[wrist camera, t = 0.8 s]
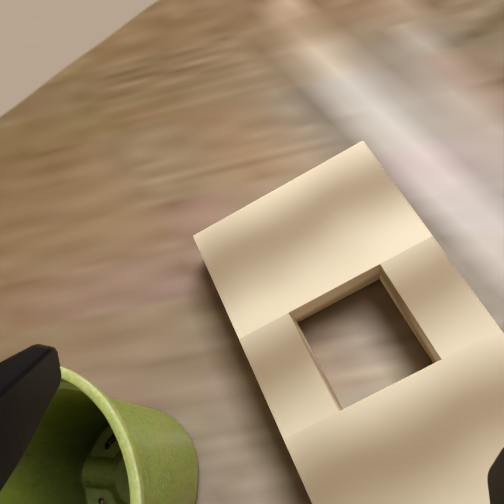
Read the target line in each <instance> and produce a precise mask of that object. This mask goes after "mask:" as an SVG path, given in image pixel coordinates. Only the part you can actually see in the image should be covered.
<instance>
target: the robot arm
mask: <svg viewBox="0 0 504 504" xmlns="http://www.w3.org/2000/svg"><path fill="white" fill-rule="evenodd" d="M60 382H61V369H60V363H59V358H58V352H57V350H56V349H55V348H54V347H51V346H46V345H41V344H36V345H33V346H30V347H29V348H27V349H25V350H23V351H21V352H19V353H17V354H15V355H13V356H11V357H9V358H7V359H6V360H4V361H2V362H0V492H1V490H2V488H3V487H4V485H5V484H6V482H7V481H8V479H9V478H10V476H11V474H12V473H13V471H14V470H15V468H16V467H17V465H18V463H19V462H20V460H21V458H22V457H23V455H24V453H25V452H26V450H27V448H28V446H29V444H30V442H31V440H32V438H33V437H34V435H35V433H36V431H37V429H38V427H39V425H40V423H41V421H42V419H43V417H44V415H45V413H46V411H47V409H48V407H49V405H50V403H51V401H52V399H53V397H54V395H55V393H56V391H57V389H58V387H59V385H60ZM487 483H488V491H489V499H490V504H504V447H503V448H502V450H501V451H500V453H499V455H498V456H497V458H496V459H495V461H494V462H493V464H492V466H491V467H490V469H489V472H488V476H487Z"/></svg>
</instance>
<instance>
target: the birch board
mask: <svg viewBox="0 0 504 504" xmlns="http://www.w3.org/2000/svg"><path fill="white" fill-rule="evenodd" d="M193 237H194V239H195V242H196V244H197V246H198V248H199V251H200V253H201V255H202V257H203V260H204V262H205V264H206V266H207V269H208V271H209V273H210V275H211V278H212V280H213V282H214V284H215V287H216V289H217V291H218V293H219V296H220V298H221V300H222V302H223V304H224V307H225V309H226V311H227V313H228V316H229V318H230V320H231V322H232V325H233V327H234V329H235V331H236V334H237V336H238V338H239V340H240V343H241V345H242V347H243V349H244V352H245V354H246V356H247V358H248V361H249V363H250V365H251V367H252V370H253V372H254V374H255V376H256V379H257V381H258V383H259V385H260V388H261V390H262V392H263V394H264V397H265V399H266V401H267V403H268V406H269V408H270V410H271V412H272V415H273V417H274V419H275V421H276V424H277V426H278V428H279V430H280V433H281V435H282V437H283V439H284V442H285V444H286V446H287V448H288V451H289V453H290V455H291V457H292V460H293V462H294V464H295V466H296V469H297V471H298V473H299V475H300V478H301V480H302V482H303V484H304V487H305V489H306V491H307V493H308V496H309V498H310V500H311V502H312V504H490V499H489V491H488V483H487V476H488V472H489V469H490V467H491V466H492V464H493V462H494V461H495V459H496V458H497V456H498V455H499V453H500V451H501V450H502V448H503V447H504V333H503V332H502V331H501V329H500V328H499V326H498V325H497V324H496V322H495V321H494V320H493V318H492V317H491V315H490V314H489V313H488V311H487V310H486V309H485V307H484V306H483V305H482V303H481V302H480V300H479V299H478V298H477V296H476V295H475V294H474V292H473V291H472V289H471V288H470V287H469V285H468V284H467V283H466V281H465V280H464V278H463V277H462V276H461V274H460V273H459V272H458V270H457V269H456V267H455V266H454V265H453V263H452V262H451V261H450V259H449V258H448V256H447V255H446V254H445V252H444V251H443V250H442V248H441V247H440V245H439V244H438V243H437V241H436V240H435V239H434V237H433V236H432V235H431V233H430V232H429V230H428V229H427V228H426V226H425V225H424V224H423V222H422V221H421V219H420V218H419V217H418V215H417V214H416V213H415V211H414V210H413V208H412V207H411V206H410V204H409V203H408V202H407V200H406V199H405V197H404V196H403V195H402V193H401V192H400V191H399V189H398V188H397V186H396V185H395V184H394V182H393V181H392V180H391V178H390V177H389V175H388V174H387V173H386V171H385V170H384V169H383V167H382V166H381V165H380V163H379V162H378V160H377V159H376V158H375V156H374V155H373V154H372V152H371V151H370V149H369V148H368V147H367V145H366V144H365V143H364V141H361V142H359V143H357V144H356V145H354V146H352V147H350V148H349V149H347V150H345V151H343V152H341V153H340V154H338V155H336V156H334V157H333V158H331V159H329V160H327V161H325V162H324V163H322V164H320V165H318V166H317V167H315V168H313V169H311V170H309V171H308V172H306V173H304V174H302V175H300V176H299V177H297V178H295V179H293V180H292V181H290V182H288V183H286V184H284V185H283V186H281V187H279V188H277V189H276V190H274V191H272V192H270V193H268V194H267V195H265V196H263V197H261V198H260V199H258V200H256V201H254V202H252V203H251V204H249V205H247V206H245V207H244V208H242V209H240V210H238V211H236V212H235V213H233V214H231V215H229V216H227V217H226V218H224V219H222V220H220V221H219V222H217V223H215V224H213V225H211V226H210V227H208V228H206V229H204V230H203V231H201V232H199V233H197V234H195V235H194V236H193ZM379 279H380V281H381V282H382V284H383V285H384V287H385V289H386V290H387V292H388V293H389V295H390V297H391V298H392V300H393V301H394V303H395V304H396V306H397V308H398V309H399V311H400V312H401V314H402V315H403V317H404V319H405V320H406V322H407V323H408V325H409V327H410V328H411V330H412V331H413V333H414V334H415V336H416V338H417V339H418V341H419V342H420V344H421V345H422V347H423V349H424V350H425V352H426V353H427V355H428V357H429V358H430V360H431V361H432V363H433V364H431V365H429V366H427V367H426V368H424V369H422V370H420V371H418V372H416V373H414V374H412V375H410V376H408V377H406V378H404V379H402V380H400V381H398V382H396V383H394V384H392V385H390V386H388V387H386V388H384V389H382V390H380V391H378V392H376V393H374V394H372V395H370V396H368V397H366V398H364V399H362V400H361V401H359V402H357V403H355V404H353V405H351V406H349V407H347V408H345V409H342V408H341V406H340V404H339V402H338V400H337V398H336V396H335V394H334V392H333V390H332V388H331V386H330V384H329V382H328V380H327V378H326V377H325V375H324V373H323V371H322V369H321V367H320V365H319V363H318V361H317V359H316V357H315V355H314V353H313V351H312V349H311V347H310V345H309V344H308V342H307V340H306V338H305V336H304V334H303V332H302V330H301V328H300V326H299V324H298V322H300V321H302V320H304V319H306V318H308V317H309V316H311V315H313V314H315V313H317V312H319V311H321V310H323V309H324V308H326V307H328V306H330V305H332V304H334V303H336V302H338V301H340V300H341V299H343V298H345V297H347V296H349V295H351V294H353V293H355V292H356V291H358V290H360V289H362V288H364V287H366V286H368V285H370V284H372V283H373V282H375V281H377V280H379Z"/></svg>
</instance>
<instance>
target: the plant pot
mask: <svg viewBox="0 0 504 504" xmlns="http://www.w3.org/2000/svg"><path fill="white" fill-rule="evenodd" d="M60 369H61V382H60V385H59V387H58V389H57V391H56V393H55V395H54V397H53V399H52V401H51V403H50V405H49V407H48V409H47V411H46V413H45V415H44V417H43V419H42V421H41V423H40V425H39V427H38V429H37V431H36V433H35V435H34V437H33V438H32V440H31V442H30V444H29V446H28V448H27V450H26V452H25V453H24V455H23V457H22V458H21V460H20V462H19V463H18V465H17V467H16V468H15V470H14V471H13V473H12V474H11V476H10V478H9V479H8V481H7V482H6V484H5V485H4V487H3V488H2V490H1V492H0V504H99V499H100V498H102V499H103V500H104V502H105V503H106V504H195V502H196V498H197V484H198V458H197V454H196V451H195V448H194V445H193V443H192V441H191V439H190V437H189V435H188V434H187V432H186V431H185V429H184V428H183V427H182V426H181V425H180V424H179V423H178V422H177V421H176V420H175V419H174V418H172V417H171V416H169V415H167V414H166V413H163V412H161V411H158V410H155V409H151V408H147V407H143V406H139V405H135V404H131V403H128V402H124V401H121V400H117V399H113V398H110V397H107V396H106V395H105V394H104V393H103V392H102V391H101V390H100V389H99V388H98V387H97V386H95V385H94V384H93V383H92V382H90V381H89V380H88V379H86V378H84V377H83V376H81V375H80V374H78V373H76V372H74V371H72V370H70V369H67V368H64V367H61V366H60ZM113 433H114V434H115V436H116V440H115V441H114V442H113V443H112V444H111V445H110V447H109V449H105V448H106V447H105V443H106V442H107V441H108V439H109V438H110V437H111V436H112V434H113Z"/></svg>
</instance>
